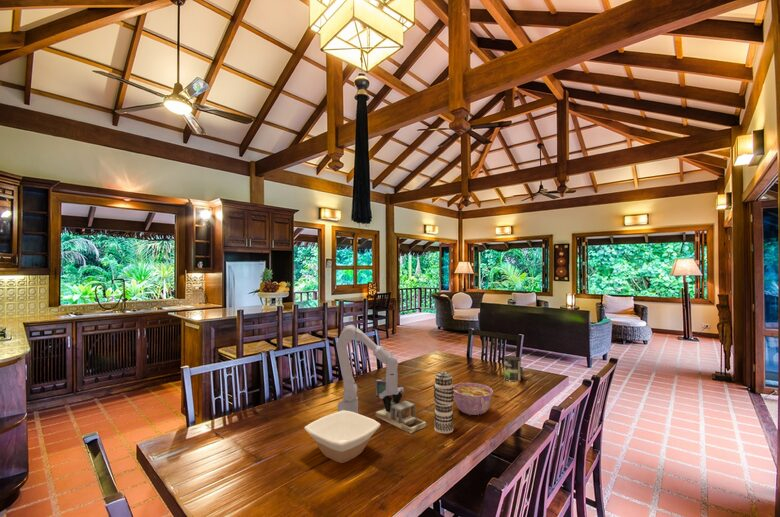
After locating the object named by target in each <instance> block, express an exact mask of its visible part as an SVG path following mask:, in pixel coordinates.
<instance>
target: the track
mask: <svg viewBox="0 0 780 517" xmlns="http://www.w3.org/2000/svg"><path fill="white" fill-rule="evenodd" d="M407 408H409V409H410V408H411V409H410V414H411V416H413V417H415V420H413V421H410V422H408V423H404V422H402V410H404V409H407ZM395 409H397V410H398V420H397V419H395ZM385 412H387V411H386V409H385V408H383V409H380V410H378V411H375V417H376V418H378V419H380V420H383V421H385V422H387V423H388V424H391V425H392V426H395V427H396V428H399V429H401V430H402V431H405V432H407V433H409V434H412V433H415V432H418V431H420V430H421V429H424V428H426V427H427V422H426V421H425V420H422V419H420V418H418V417H416V403H414V402H410V401H408V400H403V401H401V402H399V403H397V404H395V405H392V406H391V416H389V415H387V414H385Z"/></svg>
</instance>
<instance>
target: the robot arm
mask: <svg viewBox="0 0 780 517" xmlns="http://www.w3.org/2000/svg"><path fill="white" fill-rule="evenodd" d="M339 334H340V335H339V337H338V338H337V339H338V340H337V342H336V344H335V346H336V347H335V348H336V351H337V357H338V361H339V366H340V372H341V376H342V381H343V383H342V384H343V393H342V400H340V401H339V402H338V403H337V412H339V411H343V410H346V411H351V412H354V413H357V414H359V396H358V395H357V393H358V388H359V387H358V385H357V383H356V382H355V379H354V377H353V371H352V367H351V362H350V355H349V351H348V345H349V343H350V342H352V341H353V340H354V341H355V342H360V343H362V344H363V345H365V346H366V347H367V348H368V349H370V350H371V351H372V353H373V354H372V355H373V356H374V357H375V358H376V359H377V360H379V361H380V362H381V363H382V364H384V365H385V369H386V371H385V379H386V390H385V391H384V392H382V393H380V394H379V397H378V398H379V399H381V400H382V402H383V404H384V409H386V411H387V412H390V403H391V401H393V402H395V404H397V403H400V401H401V399H402V397H403V393H404V392H405V388H404V387H403V386H400V387H398V385H399V384H398V382H399V379H398V377H399V376H398V375H399V374H398V373H399V372H398V366H399V362H398V358H397V357H396V355H393V353H392V352H389V351H388V350H387V349H386V347H385V346H384V345H383V346H382V345H377V344H376V343H375V342H374V341H373V340H372V339H371V338H370V337H369V336H368V335H366V334H365V333H364V332H363V331H362V330H361V329H360V328H357V327H356V325H354V324H347V325H346V326H345V327H344V328H343V329H342V330H341V332H340V333H339ZM390 395H391V398H389V396H390Z"/></svg>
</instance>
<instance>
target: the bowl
mask: <svg viewBox="0 0 780 517" xmlns="http://www.w3.org/2000/svg"><path fill="white" fill-rule="evenodd" d="M380 427H381V423H380V422H379V421H376V420H375V419H373V418H370V417H368V416H366V415H363V414H360V413H358V414H357V413H354V412H351V411H346V410H343V411H339V412H338V411H337V412H332V413H330V414H327V415H324V416H322V417H320V418H317V419H316V420H314V421H312V422H310V423H309V424H307V425H305V426H304V430H305V431H306V433H308V434H309V436H310V437H311V438H313V440H314V441H315V443H316V444H317V447H318V448H319V450H320V451H321V453H322V454H323V455H324V456H325V457H327V458H328V459H330V460H332V461H334V462H337V463H339V464H343V463H346V462H349V461H351V460H353V459H355V458H356V457H358V456H359V455H361V454H362V453H363V452H364V450H365V448H366V446H367V445H368V443H369V441H370V439H371V437H372V436H373V434H374V433H375V432H377V430H378V429H379V428H380Z"/></svg>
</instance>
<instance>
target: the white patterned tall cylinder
mask: <svg viewBox="0 0 780 517" xmlns="http://www.w3.org/2000/svg"><path fill="white" fill-rule="evenodd" d="M434 380H435V382H434V385H433V397H434V398H433V399H434V400H433V402H434V404H435V405H434V406H435V408H434V414H433V415H434V417H433V418H434V421H433V423H434V425H433V426H434V428H433V429H434V430H435V432H436V433H439V434H445V435H446V434H450V433H453V431H454V413H453V412H454V411H453V410H454V409H453V405H454V402H455V399H454V394H453V393H454V391H453V390H454V388H453V386H454V384H453V376H452V374H450V372H448V371H438V372H437V373H436V374H435V375H434Z"/></svg>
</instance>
